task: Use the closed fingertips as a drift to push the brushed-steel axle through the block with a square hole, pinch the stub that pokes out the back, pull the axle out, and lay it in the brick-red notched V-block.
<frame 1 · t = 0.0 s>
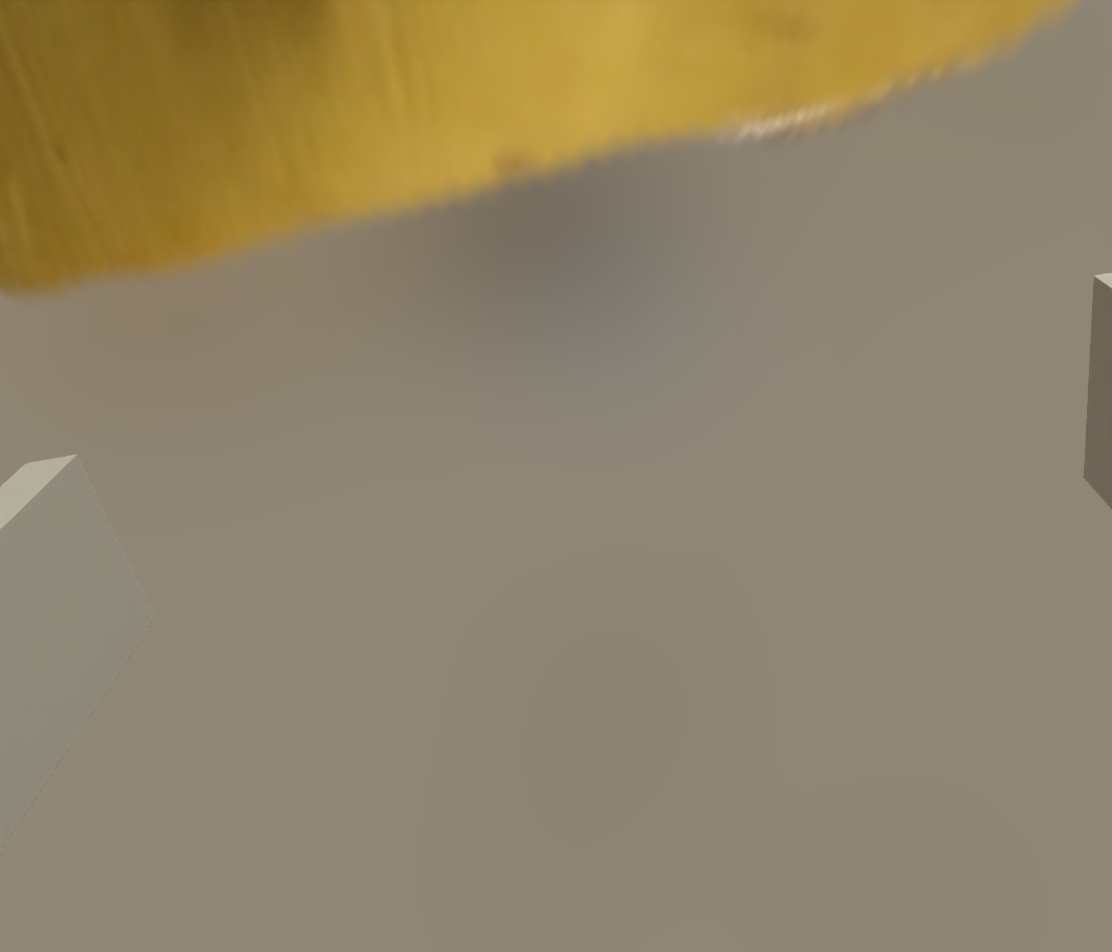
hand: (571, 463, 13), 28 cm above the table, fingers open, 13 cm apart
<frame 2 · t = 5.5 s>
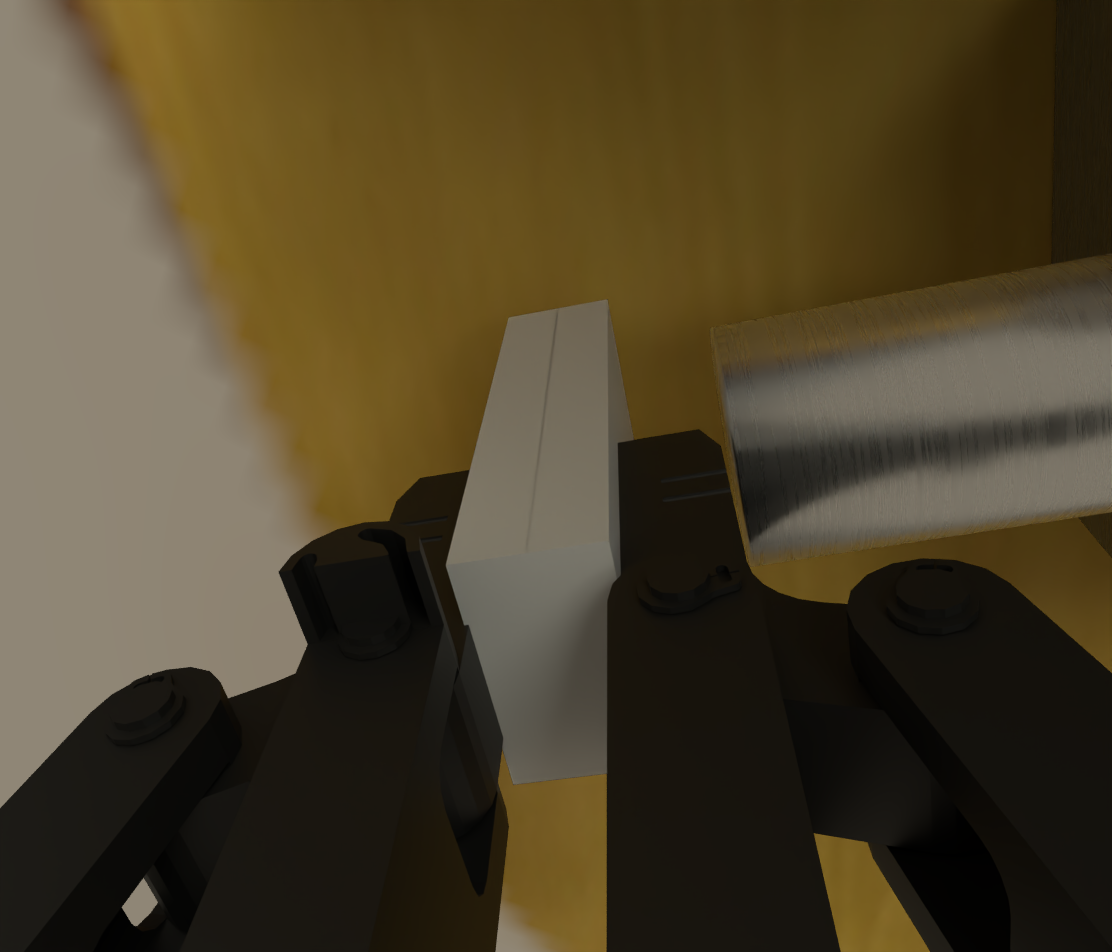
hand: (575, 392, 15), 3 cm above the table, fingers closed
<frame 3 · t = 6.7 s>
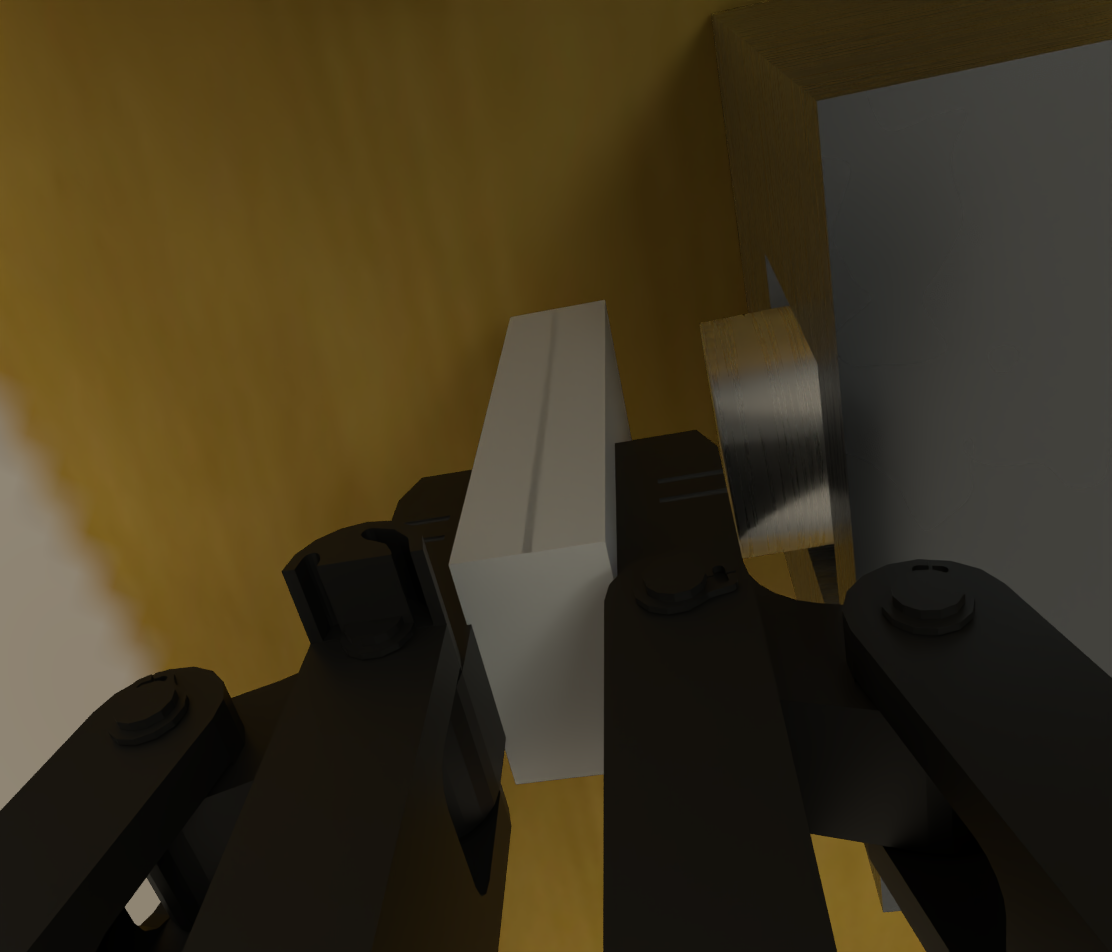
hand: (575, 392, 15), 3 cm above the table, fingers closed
block with square hole: (984, 249, 17), on the table
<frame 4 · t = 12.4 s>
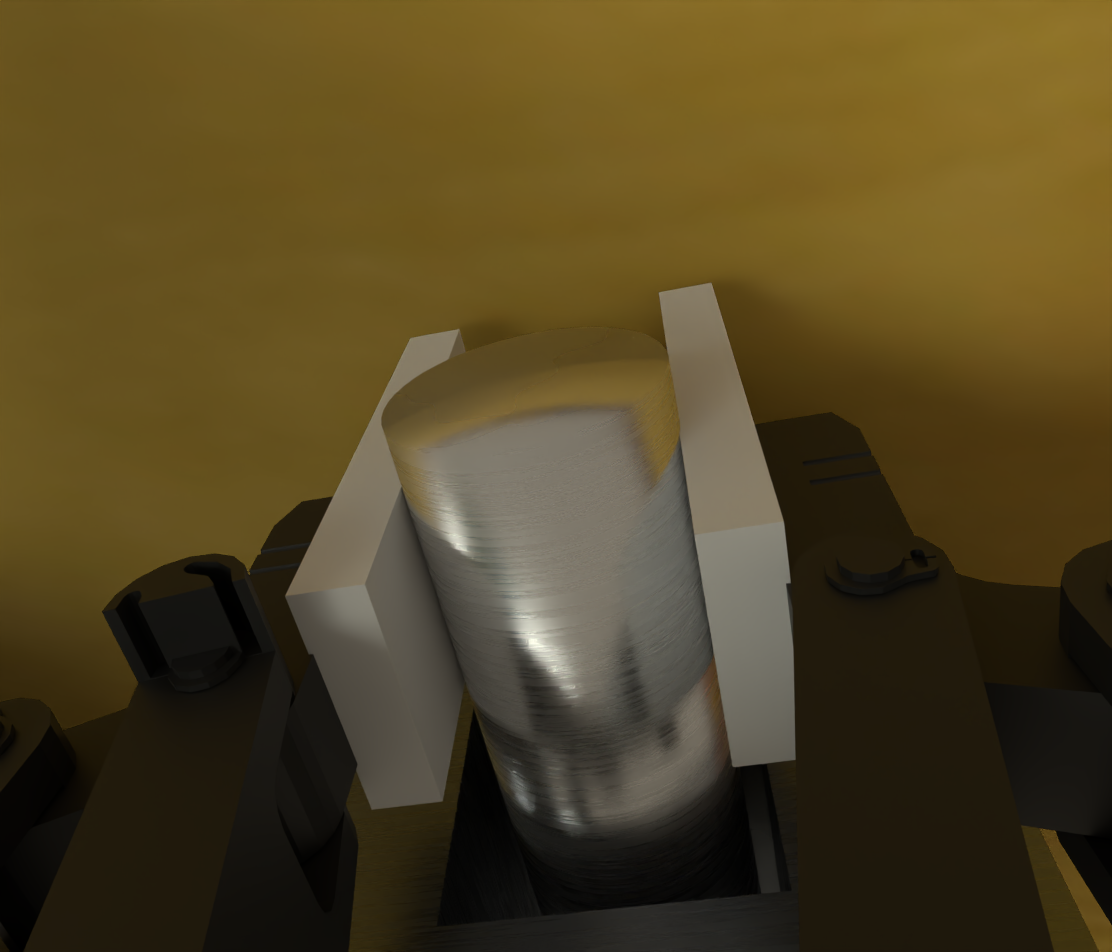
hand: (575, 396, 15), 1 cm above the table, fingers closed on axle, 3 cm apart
block with square hole: (644, 698, 19), on the table
axle: (640, 856, 13), point 6 cm above the table, tilted 9°, touching block with square hole, gripper
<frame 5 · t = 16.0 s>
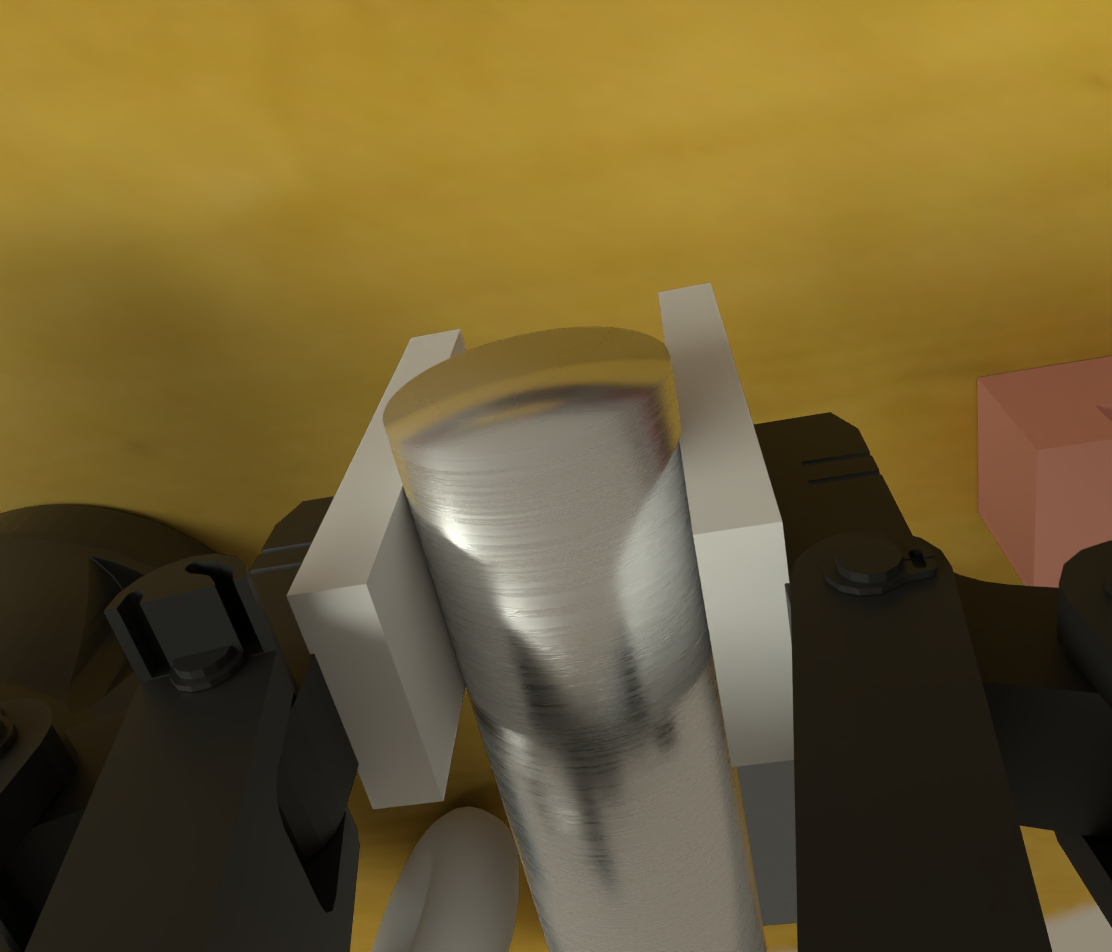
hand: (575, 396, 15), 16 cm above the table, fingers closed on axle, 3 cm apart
block with square hole: (685, 645, 37), on the table
axle: (637, 856, 13), point 20 cm above the table, tilted 9°, touching gripper
v block: (1090, 430, 32), on the table
donut: (457, 831, 42), on the table
when the fingers open (3 cm above the table, at t = 19.9 s): axle drops 1 cm, resting on v block.
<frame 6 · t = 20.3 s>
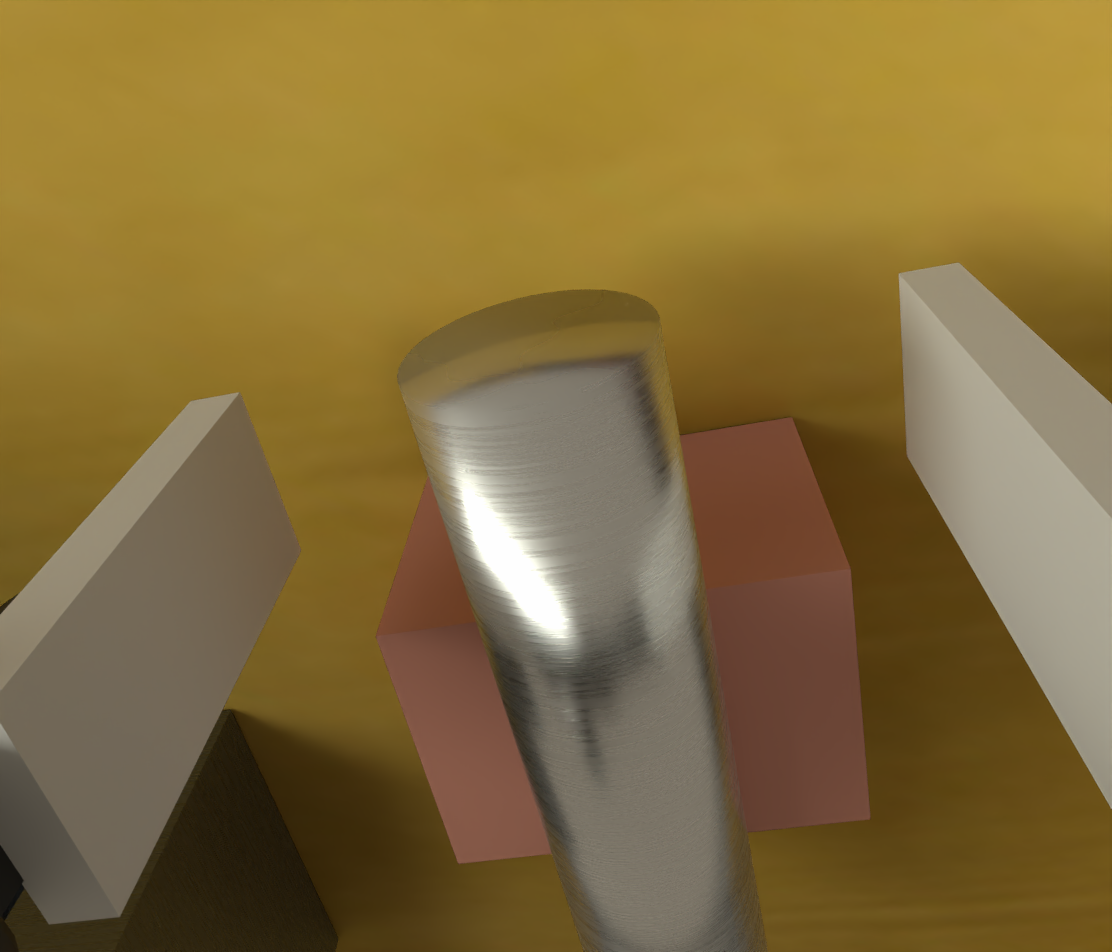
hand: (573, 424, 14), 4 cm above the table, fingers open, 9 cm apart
block with square hole: (119, 852, 25), on the table
axle: (633, 773, 15), point 6 cm above the table, tilted 10°, touching v block
v block: (627, 556, 20), on the table
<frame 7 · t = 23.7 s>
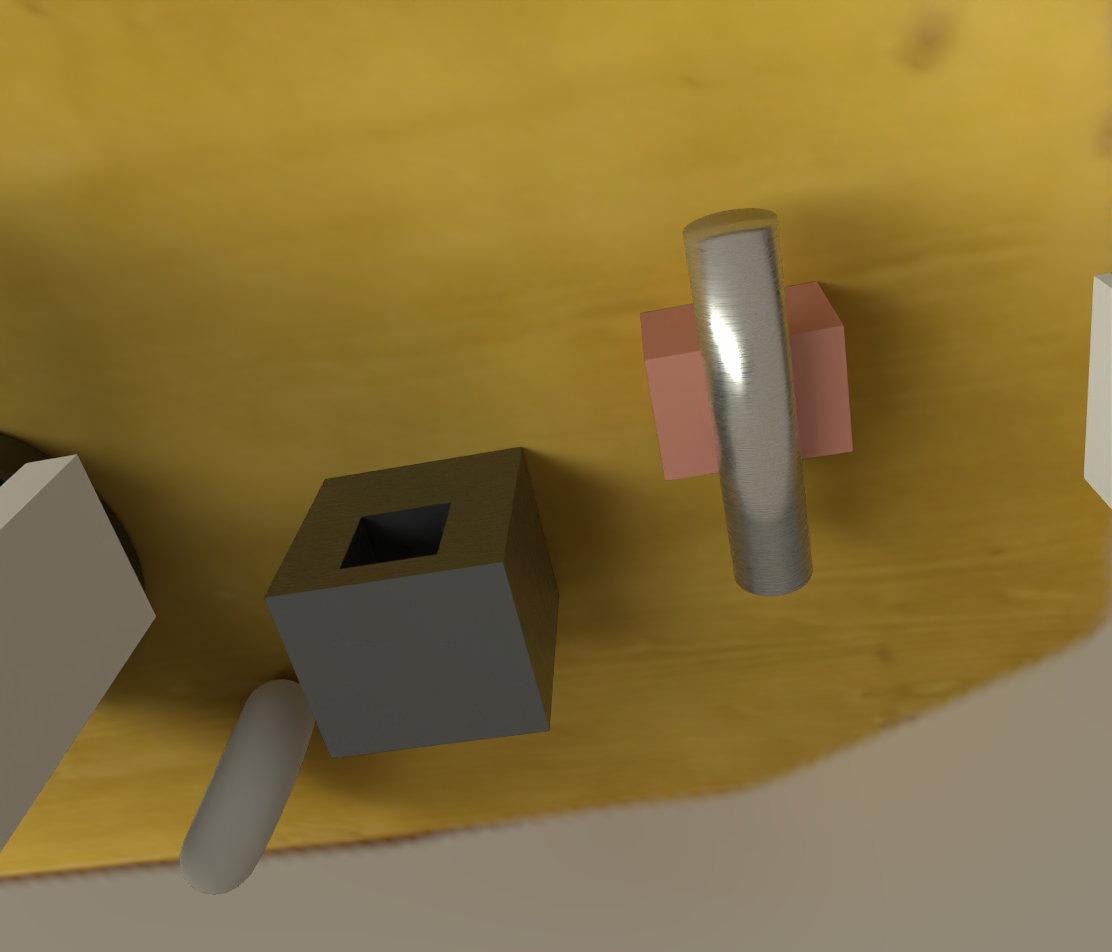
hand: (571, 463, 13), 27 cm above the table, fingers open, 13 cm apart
block with square hole: (445, 539, 45), on the table
axle: (753, 415, 35), point 6 cm above the table, tilted 9°, touching v block
v block: (734, 355, 40), on the table
donut: (281, 706, 51), on the table
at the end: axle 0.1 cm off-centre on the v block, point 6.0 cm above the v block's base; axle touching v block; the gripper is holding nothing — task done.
